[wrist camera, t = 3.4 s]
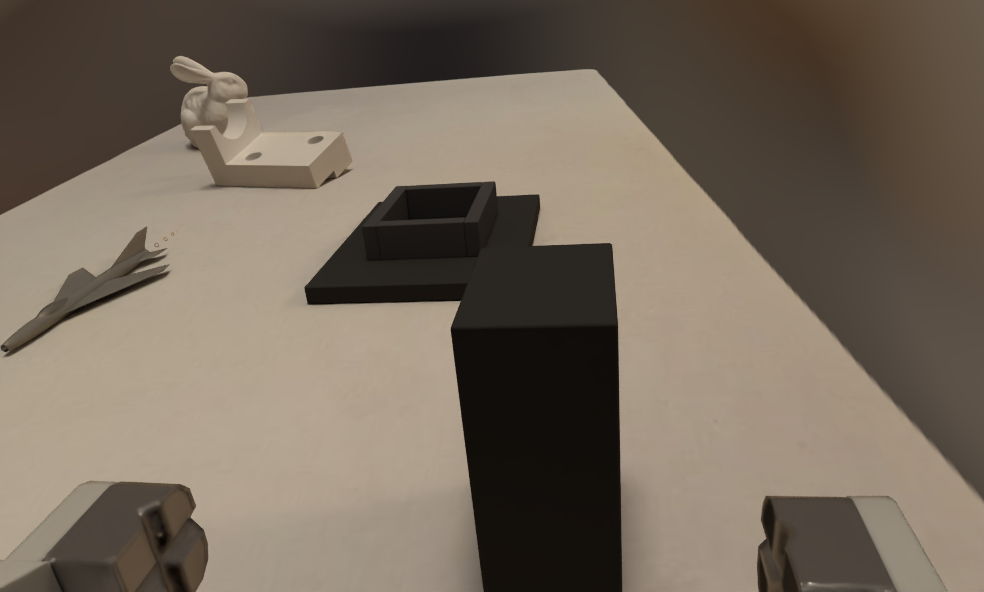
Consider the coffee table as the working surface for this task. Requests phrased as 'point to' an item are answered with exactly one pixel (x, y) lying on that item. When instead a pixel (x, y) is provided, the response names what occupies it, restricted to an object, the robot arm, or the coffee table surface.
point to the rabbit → (206, 95)
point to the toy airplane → (88, 289)
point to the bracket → (269, 152)
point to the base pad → (423, 243)
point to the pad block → (542, 416)
